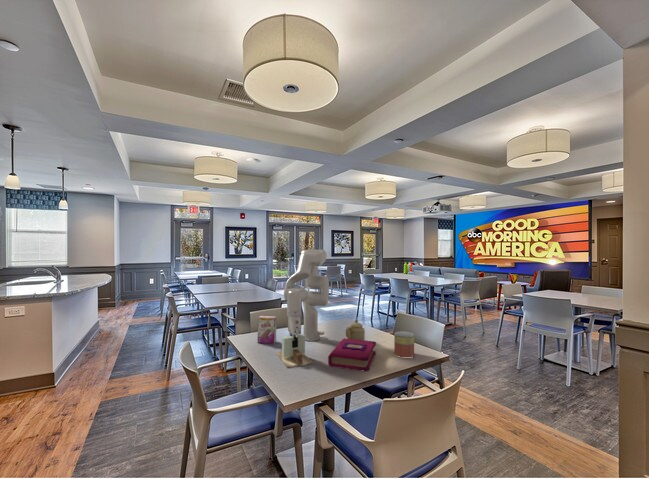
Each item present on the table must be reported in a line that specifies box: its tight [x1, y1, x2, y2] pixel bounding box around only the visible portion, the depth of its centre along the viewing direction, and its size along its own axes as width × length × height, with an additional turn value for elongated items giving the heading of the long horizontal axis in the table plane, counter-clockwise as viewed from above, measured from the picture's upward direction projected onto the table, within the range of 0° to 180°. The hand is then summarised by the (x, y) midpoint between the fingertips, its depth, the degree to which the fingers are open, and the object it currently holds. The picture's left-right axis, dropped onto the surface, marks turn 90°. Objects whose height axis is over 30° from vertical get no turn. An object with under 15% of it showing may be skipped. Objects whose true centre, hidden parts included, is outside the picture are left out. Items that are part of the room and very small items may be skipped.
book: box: [327, 338, 377, 372], centre depth 167 cm, size 21×28×8 cm
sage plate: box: [281, 333, 306, 357], centre depth 167 cm, size 12×4×10 cm, turn 114°
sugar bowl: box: [345, 318, 366, 341], centre depth 196 cm, size 15×11×15 cm
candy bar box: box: [257, 315, 277, 344], centre depth 194 cm, size 11×5×16 cm, turn 84°
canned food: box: [393, 330, 415, 358], centre depth 174 cm, size 11×11×12 cm
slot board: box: [275, 349, 314, 369], centre depth 167 cm, size 14×22×6 cm, turn 24°
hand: (293, 345), depth 167 cm, fingers closed on sage plate, 3 cm apart
